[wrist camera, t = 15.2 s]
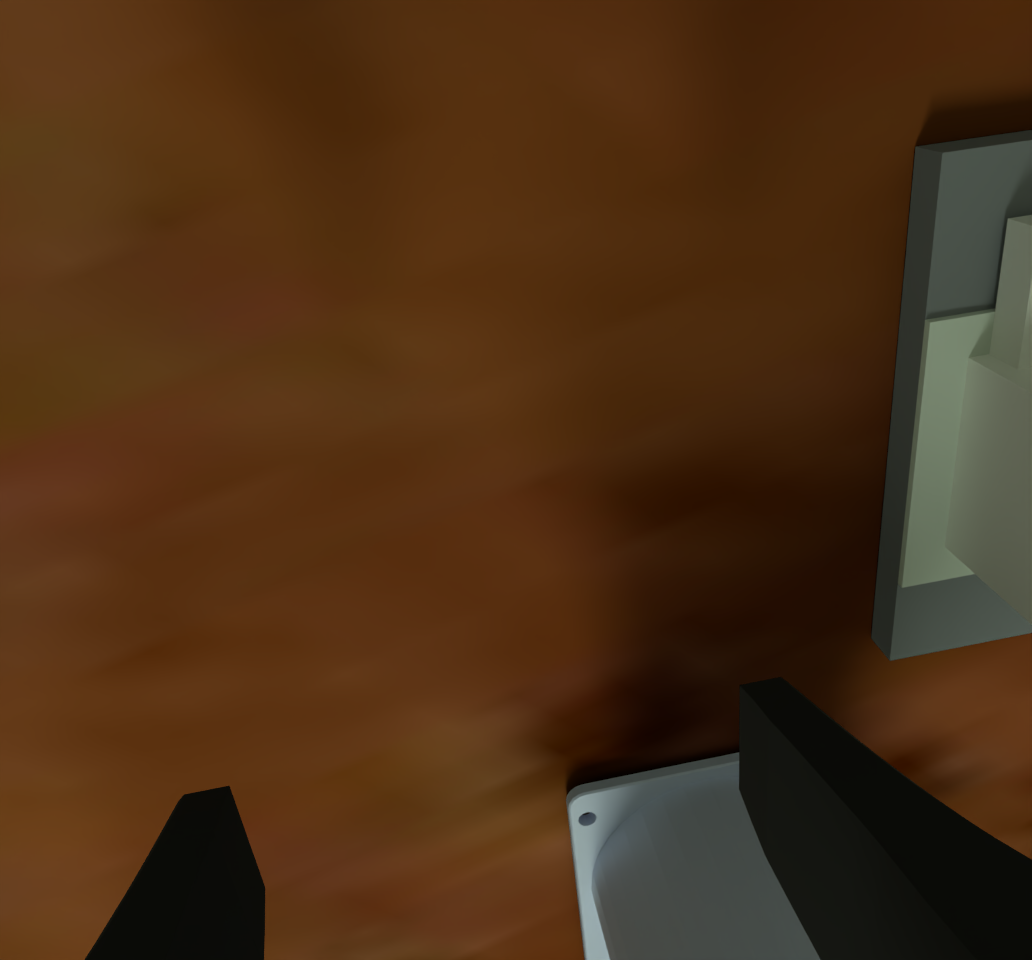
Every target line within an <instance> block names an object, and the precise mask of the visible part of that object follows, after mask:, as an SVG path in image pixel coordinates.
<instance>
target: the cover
mask: <svg viewBox="0 0 1032 960" xmlns="http://www.w3.org/2000/svg"><path fill="white" fill-rule="evenodd" d="M945 547H946V548H947V549H948V550H949V551H950V552H951V553H952V554H953V555H954V556H956V557H957V558H958V559H959V560H960V561H961V562H962V563H963V564H964V565H966V566H967V567H968V568H969V569H970V570H971V571H972V572H973V573H974V574H976V575H977V576H978V577H979V578H980V579H981V580H982V581H983V582H984V583H986V584H987V585H988V586H989V587H990V588H991V589H992V590H993V591H995V592H996V593H997V594H998V595H999V596H1000V597H1001V598H1002V599H1003V600H1005V601H1006V602H1007V603H1008V604H1009V605H1010V606H1011V607H1012V608H1013V609H1015V610H1016V611H1017V612H1018V613H1019V614H1020V615H1021V616H1022V617H1023V618H1025V619H1026V620H1027V621H1028V622H1029V623H1030V624H1031V625H1032V215H1027V216H1020V217H1014V218H1008V221H1007V228H1006V235H1005V243H1004V250H1003V257H1002V265H1001V272H1000V279H999V287H998V294H997V301H996V309H995V316H994V323H993V331H992V338H991V345H990V352H989V354H987V355H981V356H975V357H969V358H968V364H967V372H966V380H965V388H964V396H963V404H962V412H961V420H960V428H959V436H958V444H957V452H956V460H955V468H954V476H953V484H952V492H951V500H950V508H949V516H948V524H947V532H946V540H945Z"/></svg>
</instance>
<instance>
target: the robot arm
mask: <svg viewBox="0 0 1032 960" xmlns="http://www.w3.org/2000/svg"><path fill="white" fill-rule="evenodd" d="M566 803H567V812H568V820H569V829H570V838H571V846H572V855H573V863H574V872H575V881H576V889H577V898H578V907H579V915H580V924H581V932H582V941H583V950H584V958H585V960H1032V860H1031V859H1030V858H1028V857H1026V856H1025V855H1023V854H1021V853H1019V852H1018V851H1016V850H1014V849H1013V848H1011V847H1009V846H1008V845H1006V844H1004V843H1003V842H1001V841H999V840H998V839H996V838H994V837H993V836H991V835H990V834H988V833H986V832H985V831H983V830H982V829H980V828H979V827H977V826H976V825H974V824H973V823H971V822H969V821H968V820H966V819H965V818H964V817H962V816H961V815H959V814H958V813H956V812H955V811H953V810H952V809H950V808H949V807H947V806H946V805H945V804H943V803H942V802H940V801H939V800H937V799H936V798H934V797H933V796H932V795H930V794H929V793H927V792H926V791H925V790H923V789H922V788H921V787H919V786H918V785H916V784H915V783H914V782H912V781H911V780H910V779H908V778H907V777H906V776H904V775H903V774H902V773H900V772H899V771H898V770H896V769H895V768H894V767H892V766H891V765H890V764H888V763H887V762H886V761H884V760H883V759H882V758H881V757H879V756H878V755H877V754H875V753H874V752H873V751H871V750H870V749H869V748H868V747H866V746H865V745H864V744H862V743H861V742H860V741H859V740H857V739H856V738H855V737H854V736H852V735H851V734H850V733H849V732H848V731H846V730H845V729H844V728H843V727H841V726H840V725H839V724H838V723H836V722H835V721H834V720H833V719H832V718H830V717H829V716H828V715H827V714H825V713H824V712H823V711H822V710H821V709H819V708H818V707H817V706H816V705H815V704H813V703H812V702H811V701H810V700H809V699H807V698H806V697H805V696H804V695H803V694H801V693H800V692H799V691H798V690H797V689H795V688H794V687H793V686H792V685H790V684H789V683H788V682H787V681H785V680H784V679H783V678H781V677H778V678H773V679H768V680H763V681H758V682H753V683H748V684H743V685H740V711H739V752H738V753H733V754H728V755H723V756H719V757H714V758H709V759H704V760H699V761H694V762H689V763H684V764H679V765H674V766H670V767H665V768H660V769H655V770H650V771H645V772H640V773H635V774H630V775H625V776H621V777H616V778H611V779H606V780H601V781H596V782H591V783H586V784H582V785H579V786H576V787H575V788H573V789H572V790H570V792H569V793H568V795H567V799H566ZM586 812H590V813H589V814H586V815H582V814H584V813H586ZM264 936H265V886H264V883H263V880H262V877H261V875H260V872H259V869H258V866H257V863H256V860H255V858H254V855H253V852H252V849H251V846H250V843H249V841H248V838H247V835H246V832H245V829H244V826H243V823H242V821H241V818H240V815H239V812H238V809H237V806H236V804H235V801H234V798H233V795H232V792H231V789H230V787H229V786H226V787H221V788H215V789H210V790H205V791H200V792H195V793H190V794H185V795H183V796H182V798H181V799H180V800H179V802H178V803H177V805H176V806H175V808H174V810H173V812H172V814H171V815H170V817H169V819H168V821H167V823H166V824H165V826H164V828H163V830H162V832H161V833H160V835H159V837H158V839H157V841H156V842H155V844H154V846H153V848H152V849H151V851H150V853H149V855H148V856H147V858H146V860H145V862H144V863H143V865H142V867H141V869H140V870H139V872H138V874H137V875H136V877H135V879H134V881H133V882H132V884H131V886H130V887H129V889H128V891H127V892H126V894H125V896H124V897H123V899H122V901H121V902H120V904H119V905H118V907H117V909H116V910H115V912H114V914H113V915H112V917H111V918H110V920H109V922H108V923H107V925H106V927H105V928H104V930H103V932H102V933H101V935H100V936H99V938H98V940H97V941H96V943H95V944H94V946H93V947H92V949H91V951H90V952H89V954H88V955H87V957H86V958H85V960H264Z"/></svg>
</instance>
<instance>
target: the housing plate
mask: <svg viewBox="0 0 1032 960" xmlns="http://www.w3.org/2000/svg"><path fill="white" fill-rule="evenodd" d="M1027 215H1032V130H1027V131H1020V132H1013V133H1006V134H999V135H992V136H986V137H979V138H972V139H965V140H958V141H951V142H944V143H937V144H930V145H923V146H916V147H915V158H914V169H913V180H912V191H911V202H910V213H909V224H908V236H907V247H906V258H905V269H904V280H903V291H902V302H901V313H900V324H899V335H898V346H897V358H896V369H895V380H894V391H893V402H892V413H891V424H890V435H889V446H888V457H887V468H886V479H885V491H884V502H883V513H882V524H881V535H880V546H879V557H878V568H877V579H876V590H875V601H874V613H873V624H872V635H871V639H872V640H873V641H874V642H875V644H876V645H877V646H878V647H879V648H880V650H881V651H882V652H883V653H884V654H885V656H886V657H887V658H888V659H889V660H890V661H891V660H896V659H901V658H906V657H911V656H917V655H922V654H927V653H932V652H937V651H942V650H947V649H952V648H957V647H962V646H967V645H972V644H977V643H982V642H987V641H992V640H997V639H1003V638H1008V637H1013V636H1018V635H1023V634H1028V633H1032V625H1031V624H1030V623H1029V622H1028V621H1027V620H1026V619H1025V618H1023V617H1022V616H1021V615H1020V614H1019V613H1018V612H1017V611H1016V610H1015V609H1013V608H1012V607H1011V606H1010V605H1009V604H1008V603H1007V602H1006V601H1005V600H1003V599H1002V598H1001V597H1000V596H999V595H998V594H997V593H996V592H995V591H993V590H992V589H991V588H990V587H989V586H988V585H987V584H986V583H984V582H983V581H982V580H981V579H980V578H979V577H978V576H977V575H976V574H974V573H973V572H972V571H971V570H970V569H969V568H968V567H967V566H966V565H964V564H963V563H962V562H961V561H960V560H959V559H958V558H957V557H956V556H954V555H953V554H952V553H951V552H950V551H949V550H948V549H947V548H946V547H945V540H946V532H947V524H948V516H949V508H950V500H951V492H952V484H953V476H954V468H955V460H956V452H957V444H958V436H959V428H960V420H961V412H962V404H963V396H964V388H965V380H966V372H967V364H968V358H969V357H975V356H981V355H987V354H989V352H990V345H991V338H992V331H993V323H994V316H995V309H996V301H997V294H998V287H999V279H1000V272H1001V265H1002V257H1003V250H1004V243H1005V235H1006V228H1007V221H1008V218H1014V217H1020V216H1027Z"/></svg>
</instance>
